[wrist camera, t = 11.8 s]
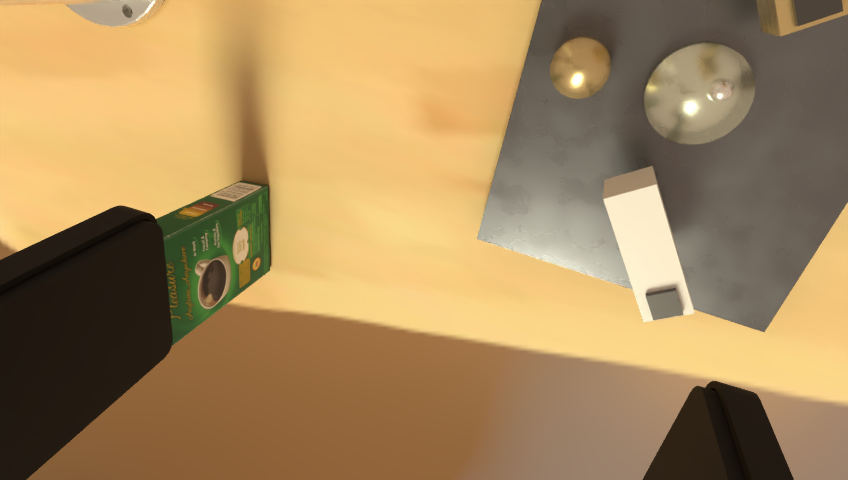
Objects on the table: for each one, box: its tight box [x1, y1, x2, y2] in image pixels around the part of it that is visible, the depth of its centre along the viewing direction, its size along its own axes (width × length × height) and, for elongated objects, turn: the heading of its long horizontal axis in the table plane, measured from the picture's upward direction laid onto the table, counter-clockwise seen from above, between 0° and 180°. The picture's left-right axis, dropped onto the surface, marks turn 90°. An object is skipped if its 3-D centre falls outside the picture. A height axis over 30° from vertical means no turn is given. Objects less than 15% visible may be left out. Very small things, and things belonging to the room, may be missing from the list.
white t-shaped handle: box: [603, 166, 695, 322], centre depth 27 cm, size 7×2×6 cm, turn 25°
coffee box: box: [156, 181, 270, 345], centre depth 37 cm, size 8×3×13 cm, turn 174°
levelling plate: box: [477, 0, 848, 332], centre depth 27 cm, size 18×24×4 cm
